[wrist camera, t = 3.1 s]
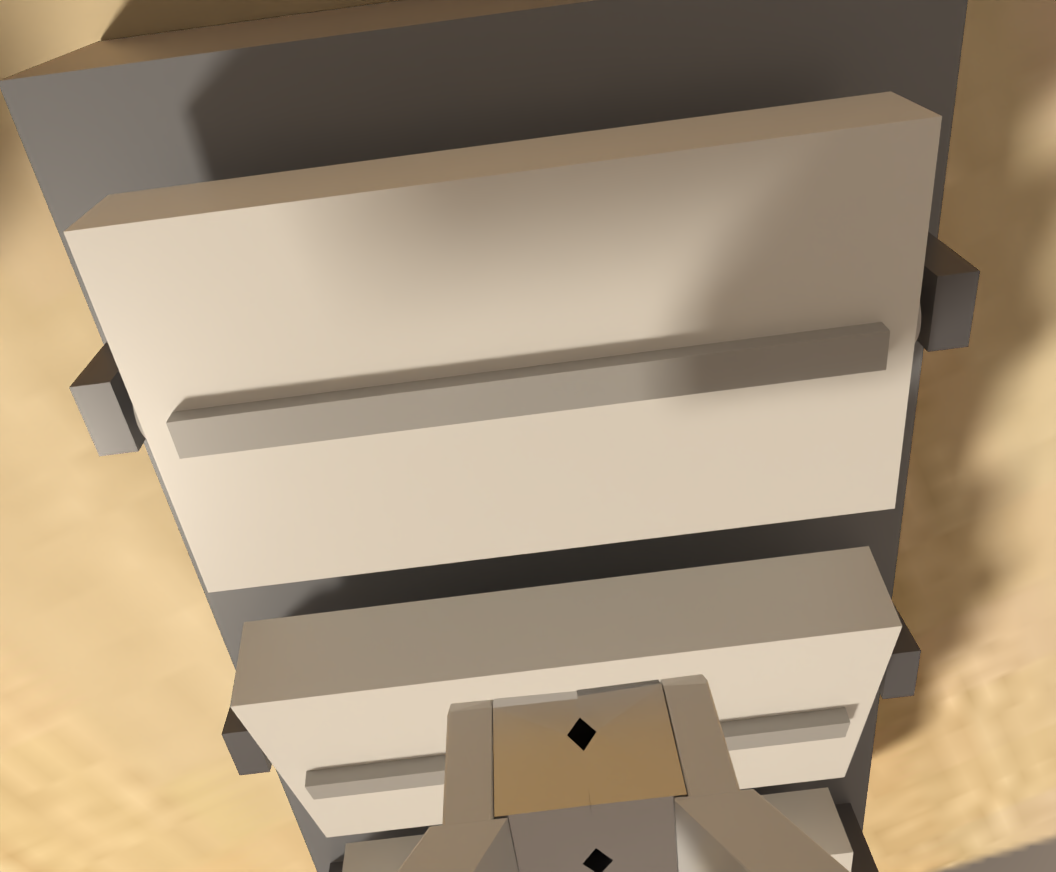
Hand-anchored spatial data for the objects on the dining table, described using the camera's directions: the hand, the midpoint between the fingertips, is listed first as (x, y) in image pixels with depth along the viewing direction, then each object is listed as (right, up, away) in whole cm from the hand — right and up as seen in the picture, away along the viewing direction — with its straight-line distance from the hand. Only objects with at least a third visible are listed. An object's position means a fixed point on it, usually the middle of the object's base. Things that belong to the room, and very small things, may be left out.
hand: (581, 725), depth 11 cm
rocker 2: (0, -2, +7) cm, 7 cm away
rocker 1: (-1, +5, +3) cm, 5 cm away
